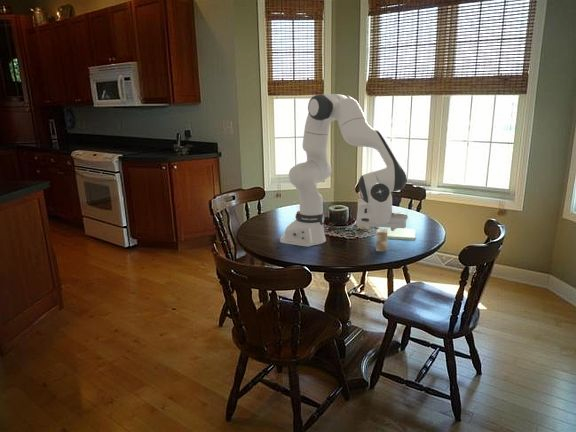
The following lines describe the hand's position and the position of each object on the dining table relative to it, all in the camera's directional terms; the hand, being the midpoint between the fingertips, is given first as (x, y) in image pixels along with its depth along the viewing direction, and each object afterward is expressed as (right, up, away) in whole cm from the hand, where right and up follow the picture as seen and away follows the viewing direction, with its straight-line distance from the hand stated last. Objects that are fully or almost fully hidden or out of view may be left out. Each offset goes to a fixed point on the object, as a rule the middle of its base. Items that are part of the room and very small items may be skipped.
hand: (381, 228), depth 180 cm
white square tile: (+17, -4, +32) cm, 36 cm away
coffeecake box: (+3, 0, +49) cm, 49 cm away
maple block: (+3, -10, +13) cm, 16 cm away
